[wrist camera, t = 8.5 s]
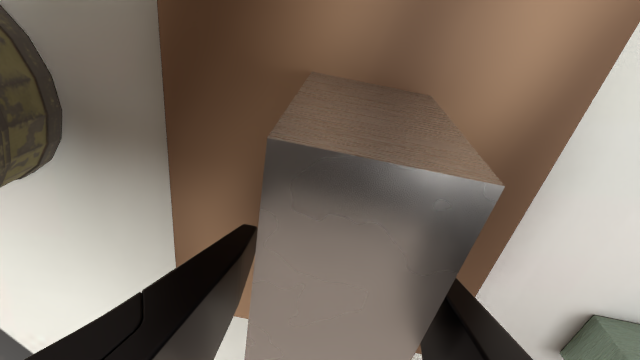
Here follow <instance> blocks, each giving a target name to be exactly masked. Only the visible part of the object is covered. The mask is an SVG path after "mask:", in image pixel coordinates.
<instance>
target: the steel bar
mask: <svg viewBox="0 0 640 360" xmlns="http://www.w3.org/2000/svg"><path fill="white" fill-rule="evenodd" d="M504 188H505V186H504V185H503V183H502V182H501V181H500V180H499V178H498V177H497V176H496V175H495V174H494V172H493V171H492V170H491V169H490V167H489V166H488V165H487V164H486V162H485V161H484V160H483V159H482V158H481V156H480V155H479V154H478V153H477V151H476V150H475V149H474V148H473V147H472V145H471V144H470V143H469V142H468V140H467V139H466V138H465V137H464V136H463V134H462V133H461V132H460V131H459V129H458V128H457V127H456V126H455V125H454V123H453V122H452V121H451V120H450V118H449V117H448V116H447V115H446V113H445V112H444V111H443V110H442V109H441V107H440V106H439V105H438V104H437V102H436V101H435V100H434V99H433V98H432V96H429V95H424V94H419V93H414V92H409V91H404V90H400V89H395V88H390V87H385V86H380V85H375V84H370V83H365V82H361V81H356V80H351V79H346V78H341V77H336V76H331V75H326V74H322V73H317V72H311V74H310V75H309V77H308V78H307V80H306V81H305V83H304V84H303V85H302V87H301V88H300V90H299V91H298V93H297V94H296V96H295V97H294V99H293V100H292V102H291V103H290V105H289V106H288V108H287V109H286V111H285V112H284V113H283V115H282V116H281V118H280V119H279V121H278V122H277V124H276V125H275V127H274V128H273V130H272V131H271V133H270V134H269V136H268V137H267V144H266V154H265V164H264V173H263V183H262V193H261V203H260V213H259V223H258V232H257V242H256V252H255V262H254V272H253V281H252V291H251V301H250V311H249V321H248V330H247V340H246V350H245V360H411V359H412V357H413V356H414V354H415V352H416V350H417V348H418V346H419V345H420V343H421V341H422V339H423V337H424V335H425V333H426V332H427V330H428V328H429V326H430V324H431V322H432V321H433V319H434V317H435V315H436V313H437V311H438V309H439V308H440V306H441V304H442V302H443V300H444V298H445V297H446V295H447V293H448V291H449V289H450V287H451V285H452V284H453V282H454V280H455V278H456V276H457V274H458V273H459V271H460V269H461V267H462V265H463V263H464V261H465V260H466V258H467V256H468V254H469V252H470V250H471V249H472V247H473V245H474V243H475V241H476V239H477V237H478V236H479V234H480V232H481V230H482V228H483V226H484V224H485V223H486V221H487V219H488V217H489V215H490V213H491V212H492V210H493V208H494V206H495V204H496V202H497V200H498V199H499V197H500V195H501V193H502V191H503V189H504Z"/></svg>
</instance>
